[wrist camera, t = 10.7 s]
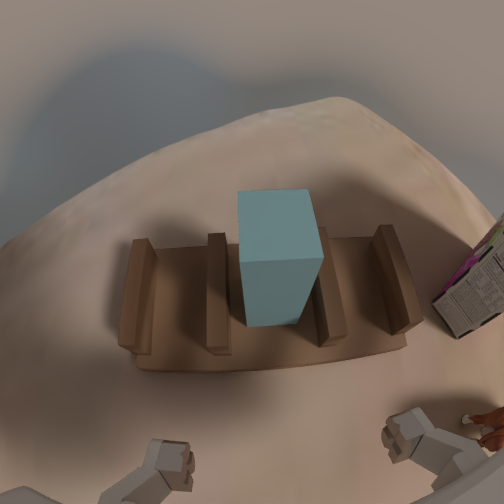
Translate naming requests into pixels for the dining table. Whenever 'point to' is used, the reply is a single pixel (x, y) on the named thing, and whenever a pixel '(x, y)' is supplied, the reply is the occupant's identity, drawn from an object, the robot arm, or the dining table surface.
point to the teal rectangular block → (277, 254)
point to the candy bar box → (475, 286)
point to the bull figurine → (489, 429)
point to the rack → (264, 337)
